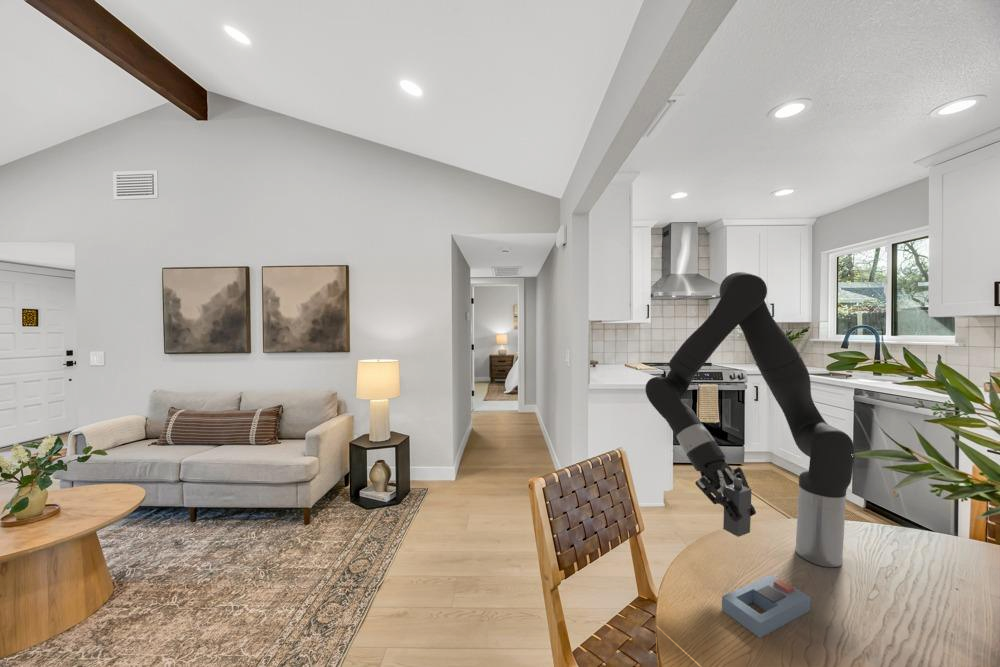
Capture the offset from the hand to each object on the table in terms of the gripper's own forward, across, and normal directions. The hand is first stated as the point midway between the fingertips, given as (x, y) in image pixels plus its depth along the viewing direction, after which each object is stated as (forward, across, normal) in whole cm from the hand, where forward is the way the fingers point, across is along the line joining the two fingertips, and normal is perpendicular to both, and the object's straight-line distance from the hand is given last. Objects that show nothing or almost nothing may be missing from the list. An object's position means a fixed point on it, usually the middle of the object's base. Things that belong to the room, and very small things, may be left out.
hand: (745, 517), depth 93 cm
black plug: (+2, 0, +4) cm, 5 cm away
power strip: (+16, -3, +6) cm, 18 cm away
